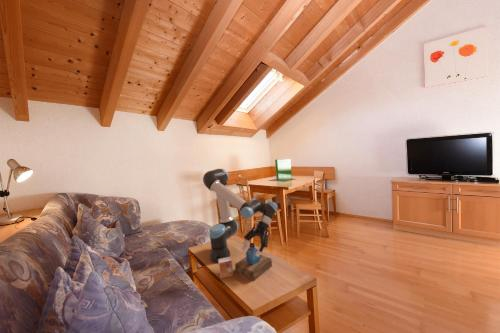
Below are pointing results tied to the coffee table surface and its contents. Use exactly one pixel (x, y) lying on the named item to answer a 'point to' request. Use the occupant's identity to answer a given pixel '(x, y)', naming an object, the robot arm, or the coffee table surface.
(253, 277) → the walnut riser block
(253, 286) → the coffee table surface
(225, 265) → the small box
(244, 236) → the robot arm
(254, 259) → the perfume bottle
